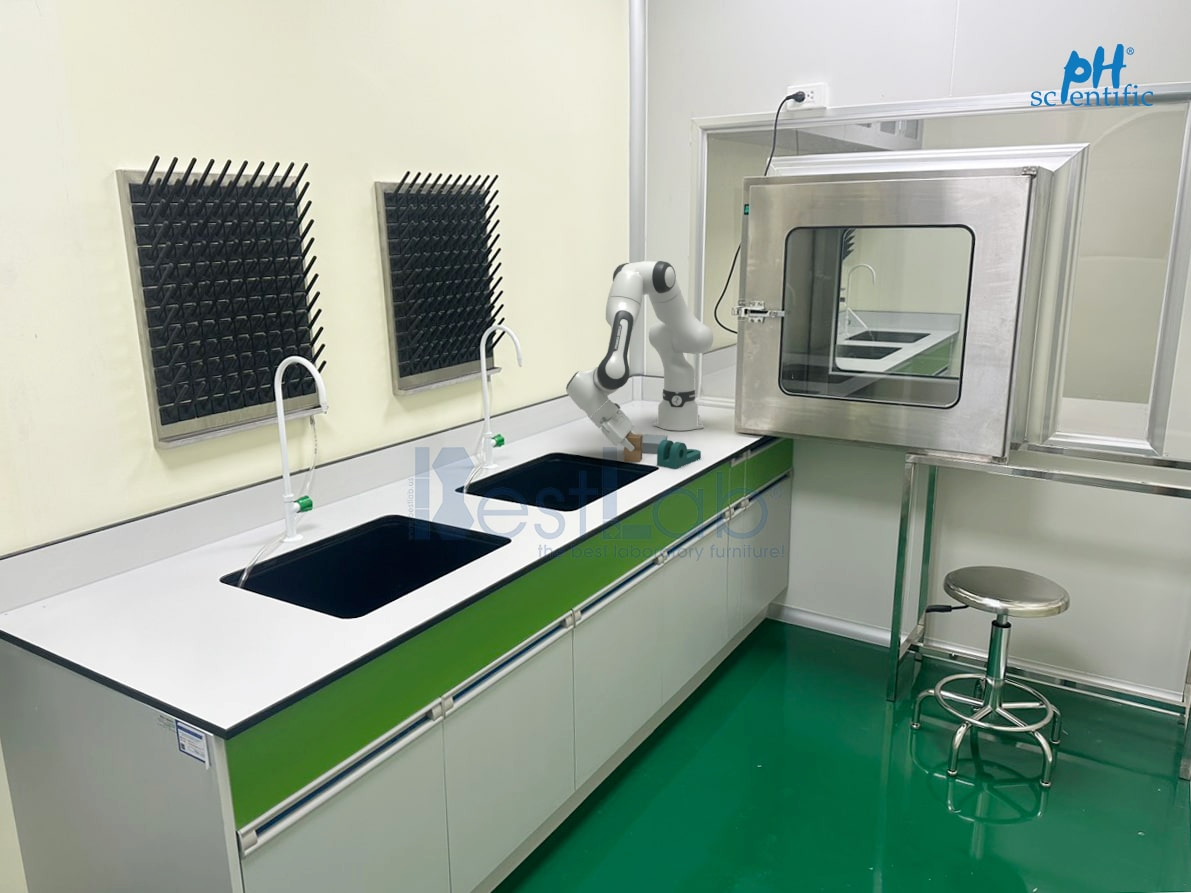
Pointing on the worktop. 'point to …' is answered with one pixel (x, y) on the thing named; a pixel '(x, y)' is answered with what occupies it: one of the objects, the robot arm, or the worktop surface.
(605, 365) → the robot arm
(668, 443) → the bracket
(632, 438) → the walnut block
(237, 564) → the worktop surface
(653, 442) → the slate base
